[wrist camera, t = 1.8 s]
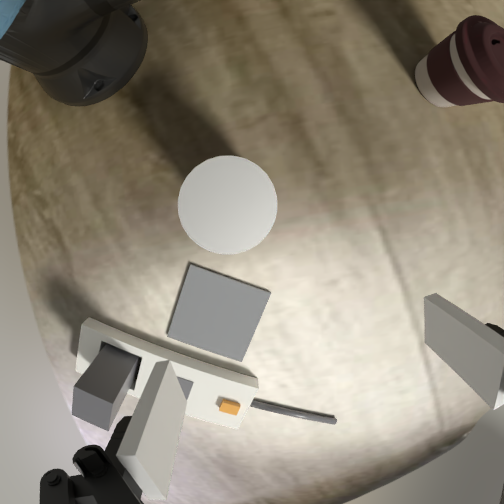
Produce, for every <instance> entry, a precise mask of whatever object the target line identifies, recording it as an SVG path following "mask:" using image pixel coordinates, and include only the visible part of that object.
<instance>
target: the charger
mask: <svg viewBox="0 0 504 504" xmlns="http://www.w3.org/2000/svg"><path fill="white" fill-rule="evenodd" d="M139 361H140V356H137V355H135V354H132V353H130V352H127V351H125V350H122V349H120V348H118V347H115V346H113V345H111V344H108V343H107V344H106V345H105V346H104V347H103V349H102V350H101V351H100V352H99V354H98V355H97V356H96V358H95V359H94V360H93V362H92V363H91V364H90V365H89V367H88V368H87V369H86V371H85V372H84V373H83V375H82V376H81V377H80V379H79V380H78V381H77V383H76V384H75V385H74V390H73V404H72V415H74V416H76V417H78V418H80V419H82V420H84V421H87V422H89V423H91V424H93V425H95V426H98V427H100V428H102V429H105V430H107V431H109V429H110V427H111V425H112V423H113V421H114V419H115V417H116V414H117V412H118V410H119V408H120V406H121V404H122V402H123V400H124V398H125V396H126V394H127V392H128V390H129V388H130V386H131V384H132V382H133V380H134V378H135V377H136V373H137V369H138V365H139Z"/></svg>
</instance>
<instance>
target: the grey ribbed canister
mask: <svg viewBox="0 0 504 504" xmlns="http://www.w3.org/2000/svg"><path fill="white" fill-rule="evenodd" d="M178 214H179V217H180V220H181V224H182V226H183V228H184V230H185V231H186V233H187V234H188V236H189V237H190V238H191V239H192V240H193V241H194V242H195V243H196V244H197V245H199V246H200V247H202V248H204V249H206V250H208V251H210V252H214V253H218V254H237V253H241V252H244V251H248V250H249V249H251V248H253V247H254V246H256V245H258V244H259V243H260V242H261V241H262V240H263V239H264V238H265V237H266V236H267V235H268V233H269V231H270V230H271V228H272V226H273V224H274V221H275V217H276V214H277V196H276V192H275V189H274V185H273V184H272V182H271V180H270V179H269V177H268V175H267V174H266V173H265V172H264V171H263V170H262V169H261V168H260V167H259V166H258V165H256V164H255V163H253V162H251V161H249V160H247V159H245V158H241V157H237V156H218V157H215V158H211V159H208V160H206V161H204V162H203V163H201V164H199V165H198V166H196V167H195V168H194V169H193V170H192V171H191V172H190V174H189V175H188V176H187V177H186V179H185V181H184V183H183V185H182V186H181V189H180V193H179V198H178Z"/></svg>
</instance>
